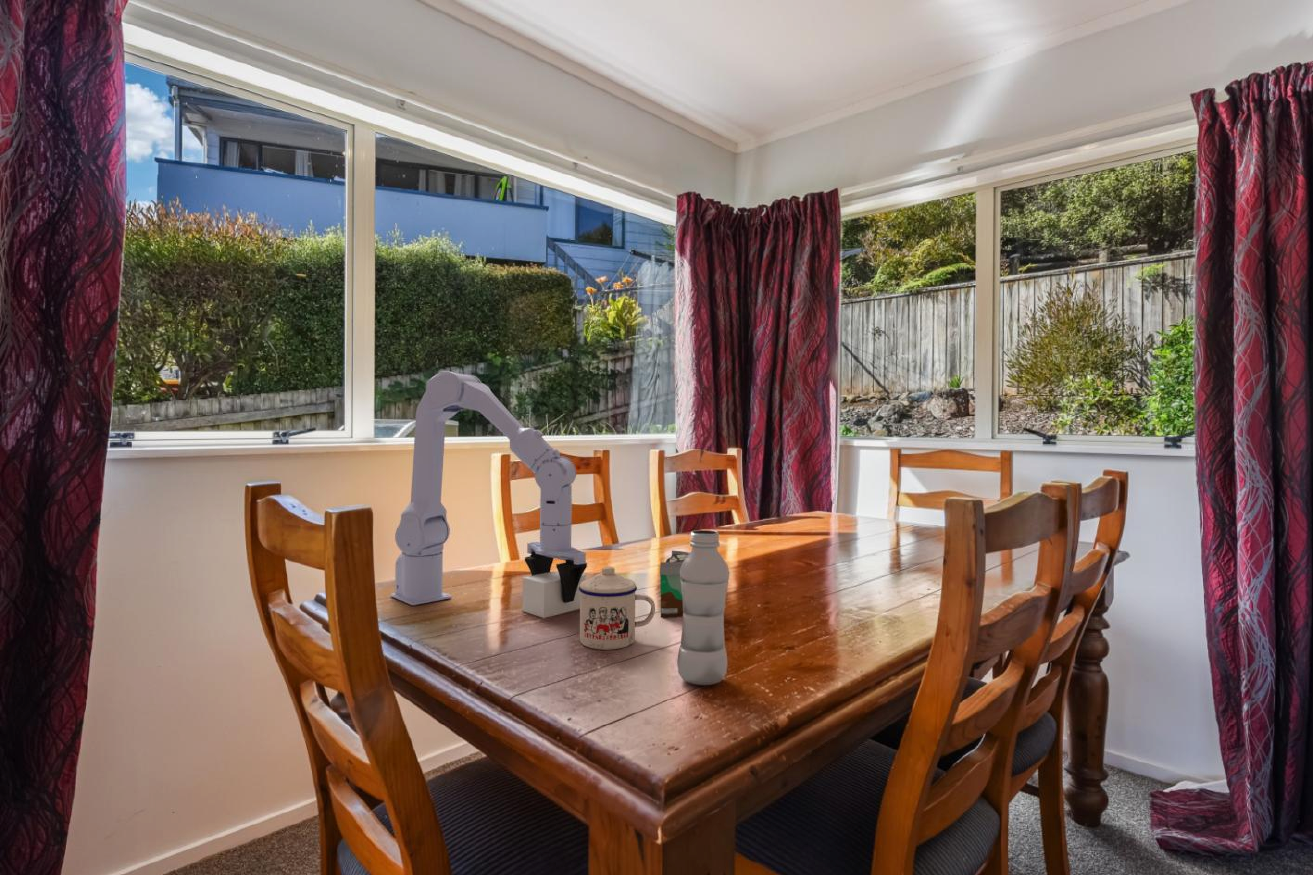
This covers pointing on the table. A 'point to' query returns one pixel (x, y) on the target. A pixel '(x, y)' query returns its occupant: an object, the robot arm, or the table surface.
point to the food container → (672, 585)
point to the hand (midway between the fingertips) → (554, 597)
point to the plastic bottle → (703, 611)
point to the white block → (547, 595)
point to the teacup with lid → (609, 611)
